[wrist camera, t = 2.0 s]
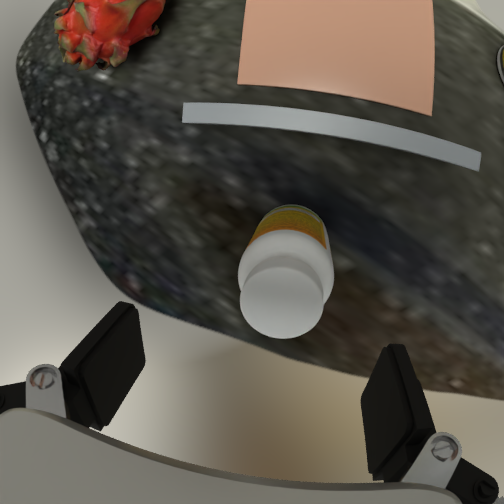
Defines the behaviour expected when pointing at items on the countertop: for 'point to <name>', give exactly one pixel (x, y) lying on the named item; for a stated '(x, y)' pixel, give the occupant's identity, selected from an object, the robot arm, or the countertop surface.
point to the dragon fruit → (104, 29)
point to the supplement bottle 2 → (501, 62)
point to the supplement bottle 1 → (286, 273)
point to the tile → (342, 49)
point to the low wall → (331, 129)
